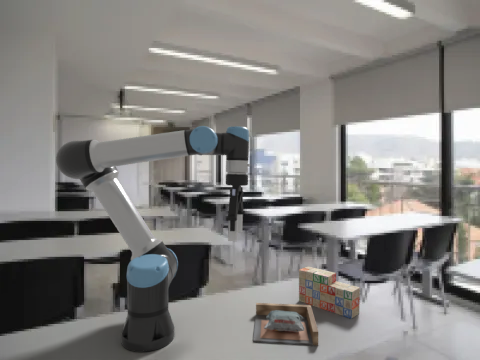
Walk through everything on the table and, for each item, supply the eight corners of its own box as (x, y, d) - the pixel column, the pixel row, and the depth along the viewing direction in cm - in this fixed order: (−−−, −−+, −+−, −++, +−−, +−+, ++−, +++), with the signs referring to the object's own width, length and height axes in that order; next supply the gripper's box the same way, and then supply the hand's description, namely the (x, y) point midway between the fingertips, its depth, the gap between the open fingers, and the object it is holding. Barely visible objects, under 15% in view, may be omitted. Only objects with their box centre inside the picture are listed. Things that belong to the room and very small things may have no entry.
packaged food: (304, 338, 95) (304, 321, 95) (263, 334, 97) (263, 318, 97) (303, 324, 103) (303, 309, 103) (266, 321, 105) (266, 306, 105)
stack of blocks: (360, 313, 113) (360, 278, 112) (351, 319, 108) (352, 283, 108) (307, 296, 128) (307, 265, 127) (298, 301, 123) (298, 269, 123)
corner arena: (253, 341, 94) (253, 328, 94) (256, 314, 112) (256, 302, 112) (318, 345, 92) (318, 331, 92) (310, 316, 110) (310, 305, 110)
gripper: (243, 174, 95) (242, 245, 96) (251, 173, 120) (250, 230, 121) (218, 173, 96) (217, 244, 97) (231, 172, 121) (230, 229, 122)
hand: (235, 236), depth 109 cm, fingers open, 13 cm apart
